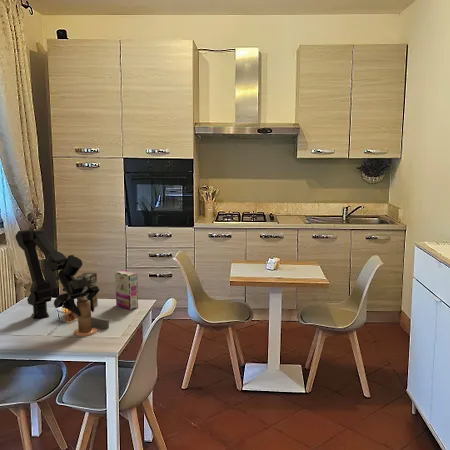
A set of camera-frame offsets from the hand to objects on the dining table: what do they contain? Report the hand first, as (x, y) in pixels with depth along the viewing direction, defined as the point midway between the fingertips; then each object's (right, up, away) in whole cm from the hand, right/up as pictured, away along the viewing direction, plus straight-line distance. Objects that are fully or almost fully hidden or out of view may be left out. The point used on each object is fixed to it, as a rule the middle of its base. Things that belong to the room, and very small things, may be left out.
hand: (86, 313), depth 193 cm
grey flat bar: (+2, -7, +8) cm, 11 cm away
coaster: (-1, -8, +2) cm, 8 cm away
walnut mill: (-1, -7, +2) cm, 8 cm away
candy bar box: (+9, -3, +35) cm, 36 cm away
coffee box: (-9, -4, +32) cm, 34 cm away
